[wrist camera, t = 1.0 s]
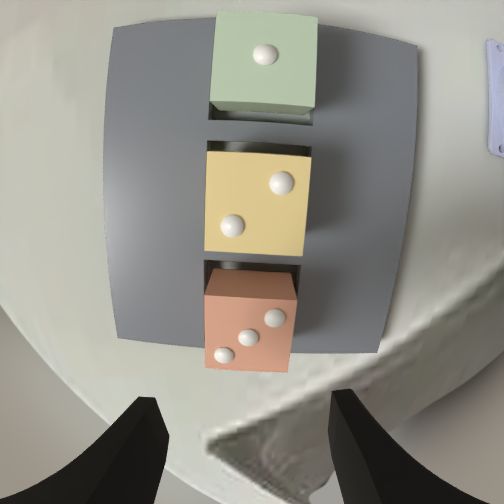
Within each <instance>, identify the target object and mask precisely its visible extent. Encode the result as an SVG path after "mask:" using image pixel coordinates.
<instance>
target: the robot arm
mask: <svg viewBox="0 0 504 504" xmlns="http://www.w3.org/2000/svg"><path fill="white" fill-rule="evenodd" d="M497 48H498V49H497ZM486 50H487V62H488V80H489V131H488V150H489V152H490V153H491V154H493V155H496V156H499V157H502V158H504V45H503V44H501V43H499V42H497V41H495V40H493V39H489V40H487V41H486ZM498 50H499V51H498ZM499 146H500V151H499ZM328 435H329V442H330V449H331V456H332V460H333V464H334V467H335V471H336V475H337V478H338V482H339V486H340V489H341V493H342V497H343V501H344V504H489V503H486V502H484V501H481V500H479V499H477V498H475V497H473V496H471V495H469V494H467V493H464V492H463V491H461V490H459V489H457V488H456V487H454V486H452V485H451V484H449V483H447V482H446V481H444V480H442V479H441V478H439V477H438V476H436V475H435V474H433V473H432V472H431V471H429V470H428V469H426V468H425V467H424V466H423V465H421V464H420V463H419V462H417V461H416V460H415V459H414V458H413V457H412V456H410V455H409V454H408V453H407V452H406V451H405V450H404V449H403V448H402V447H401V446H400V445H399V444H398V443H397V442H396V441H395V440H394V439H392V437H391V436H390V435H389V434H388V433H387V432H386V431H385V430H384V429H383V428H382V427H381V425H380V424H379V423H378V422H377V421H376V420H375V419H374V417H373V416H372V415H371V414H370V413H369V411H368V410H367V409H366V408H365V406H364V405H363V404H362V402H361V401H360V400H359V398H358V397H357V396H356V394H355V393H354V391H353V390H351V389H343V390H336V391H332V394H331V405H330V415H329V425H328ZM168 443H169V433H168V431H167V428H166V426H165V423H164V420H163V418H162V415H161V412H160V410H159V407H158V404H157V401H156V399H155V398H154V397H138V398H137V399H136V400H135V401H134V402H133V403H132V404H131V405H130V406H129V407H128V408H127V409H126V410H125V412H124V413H123V414H122V415H121V416H120V417H119V418H118V419H117V420H116V421H115V422H114V423H113V424H112V425H111V426H110V427H109V428H108V429H107V430H106V431H105V432H104V433H103V434H102V435H101V436H100V437H99V438H98V439H97V440H96V441H95V442H94V443H93V444H92V445H91V446H90V447H88V448H87V449H86V450H85V451H84V452H83V453H82V454H81V455H79V456H78V457H77V458H76V459H74V460H73V461H72V462H71V463H69V464H68V465H66V466H65V467H64V468H62V469H61V470H59V471H58V472H57V473H55V474H53V475H51V476H50V477H48V478H46V479H45V480H43V481H41V482H39V483H38V484H36V485H34V486H32V487H30V488H28V489H25V490H23V491H21V492H18V493H16V494H14V495H11V496H8V497H5V498H2V499H0V504H154V500H155V497H156V494H157V490H158V487H159V483H160V480H161V476H162V473H163V469H164V466H165V462H166V457H167V450H168Z"/></svg>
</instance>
